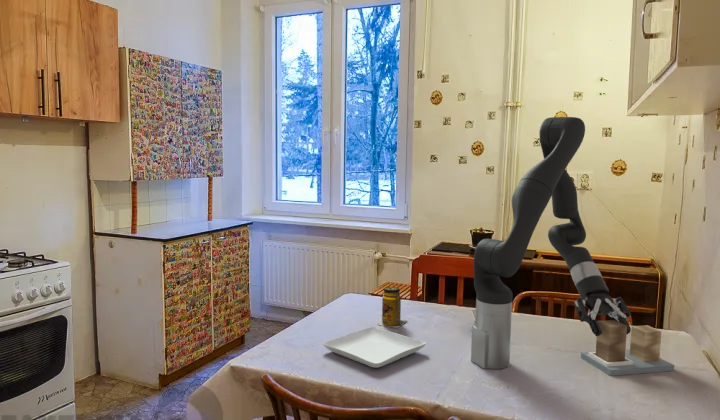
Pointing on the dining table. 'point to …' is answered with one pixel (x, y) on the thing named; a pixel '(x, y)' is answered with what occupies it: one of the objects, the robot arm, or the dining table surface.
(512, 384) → the dining table surface
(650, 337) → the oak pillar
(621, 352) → the walnut pillar
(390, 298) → the condiment
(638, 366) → the board
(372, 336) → the salad plate
